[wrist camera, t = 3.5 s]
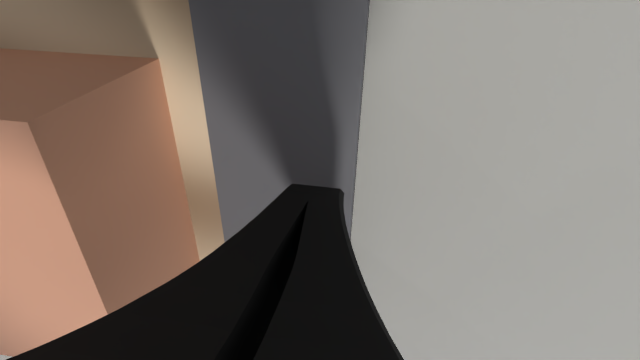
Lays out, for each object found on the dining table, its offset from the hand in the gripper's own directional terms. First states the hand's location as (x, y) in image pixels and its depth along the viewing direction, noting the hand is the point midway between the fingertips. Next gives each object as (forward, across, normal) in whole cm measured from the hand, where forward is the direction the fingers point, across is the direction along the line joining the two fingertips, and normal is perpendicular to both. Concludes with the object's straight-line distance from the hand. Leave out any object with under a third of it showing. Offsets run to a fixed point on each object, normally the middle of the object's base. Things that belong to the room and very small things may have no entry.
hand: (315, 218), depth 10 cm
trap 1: (+2, +1, 0) cm, 2 cm away
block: (+1, +8, 0) cm, 8 cm away
